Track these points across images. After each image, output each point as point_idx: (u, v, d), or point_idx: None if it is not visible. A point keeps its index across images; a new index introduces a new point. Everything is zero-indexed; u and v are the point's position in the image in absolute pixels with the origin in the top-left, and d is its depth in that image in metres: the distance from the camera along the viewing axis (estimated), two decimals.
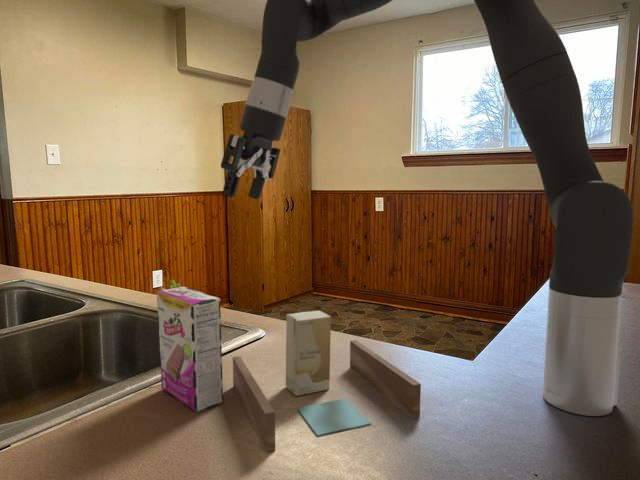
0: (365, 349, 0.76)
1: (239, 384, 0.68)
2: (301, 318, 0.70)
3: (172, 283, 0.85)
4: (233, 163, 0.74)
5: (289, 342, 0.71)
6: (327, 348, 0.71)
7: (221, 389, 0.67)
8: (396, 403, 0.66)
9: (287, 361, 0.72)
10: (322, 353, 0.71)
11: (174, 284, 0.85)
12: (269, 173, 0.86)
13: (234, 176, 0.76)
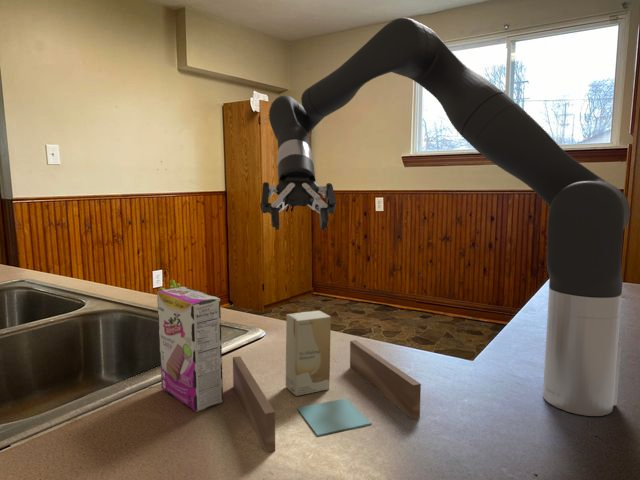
0: (365, 349, 0.76)
1: (239, 384, 0.68)
2: (301, 318, 0.70)
3: (172, 283, 0.85)
4: (262, 199, 0.84)
5: (289, 343, 0.71)
6: (327, 348, 0.71)
7: (221, 389, 0.67)
8: (396, 403, 0.66)
9: (287, 361, 0.72)
10: (322, 353, 0.71)
11: (174, 284, 0.85)
12: (329, 203, 0.86)
13: (271, 209, 0.83)
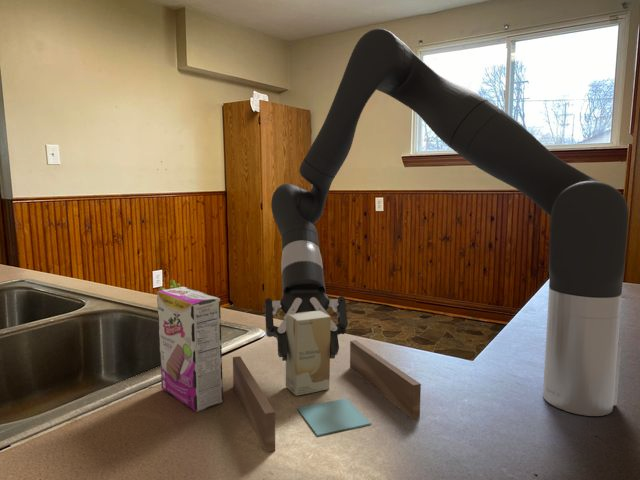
0: (365, 349, 0.76)
1: (239, 384, 0.68)
2: (301, 317, 0.70)
3: (172, 283, 0.85)
4: (266, 322, 0.72)
5: (289, 342, 0.71)
6: (327, 348, 0.71)
7: (221, 389, 0.67)
8: (396, 403, 0.66)
9: (287, 361, 0.72)
10: (322, 353, 0.71)
11: (174, 284, 0.85)
12: (339, 323, 0.74)
13: (277, 335, 0.72)
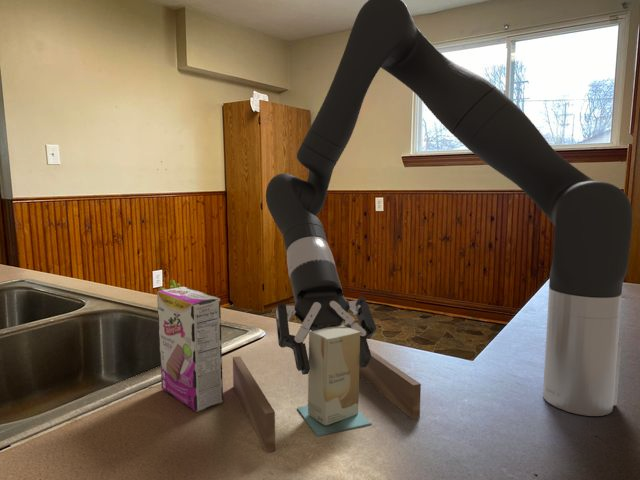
0: None
1: (239, 384, 0.68)
2: (330, 335, 0.60)
3: (172, 283, 0.85)
4: (280, 331, 0.62)
5: (314, 364, 0.61)
6: (356, 368, 0.63)
7: (221, 389, 0.67)
8: (396, 403, 0.66)
9: (311, 385, 0.62)
10: (352, 374, 0.62)
11: (174, 284, 0.85)
12: (367, 327, 0.66)
13: (295, 345, 0.61)
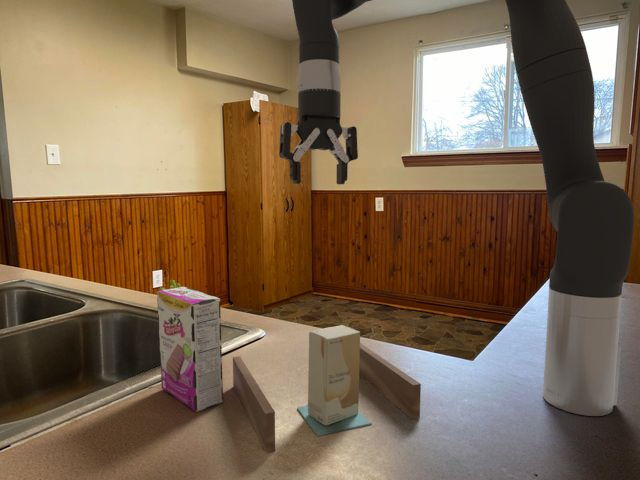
0: (365, 349, 0.76)
1: (239, 384, 0.68)
2: (330, 335, 0.60)
3: (172, 283, 0.85)
4: (283, 148, 0.76)
5: (315, 364, 0.61)
6: (356, 368, 0.63)
7: (221, 389, 0.67)
8: (396, 403, 0.66)
9: (312, 385, 0.62)
10: (352, 374, 0.62)
11: (174, 284, 0.85)
12: (350, 154, 0.81)
13: (292, 162, 0.77)
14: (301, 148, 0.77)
